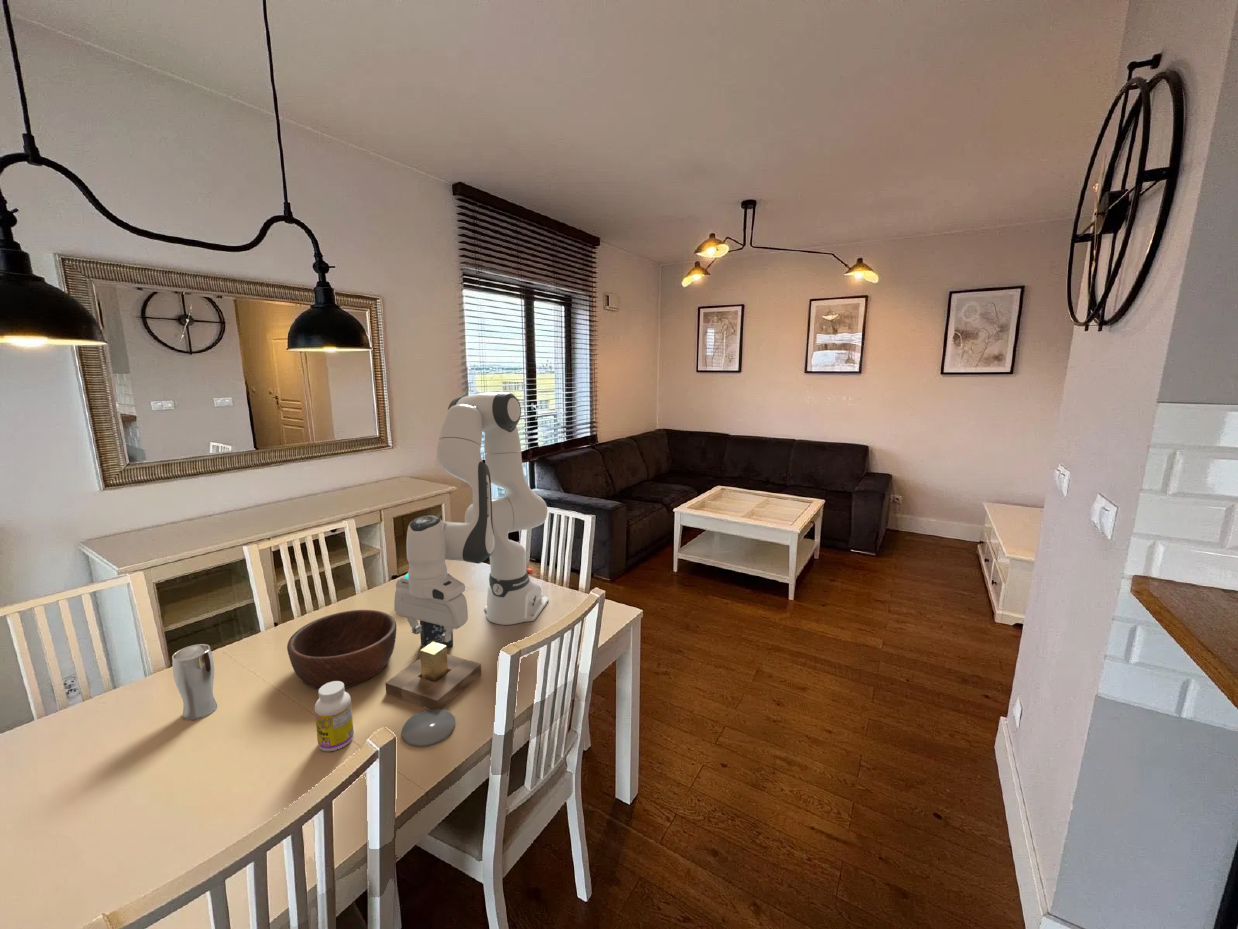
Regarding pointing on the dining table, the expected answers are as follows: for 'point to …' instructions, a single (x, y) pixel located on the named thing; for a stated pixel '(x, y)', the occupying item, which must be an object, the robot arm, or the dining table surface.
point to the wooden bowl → (342, 647)
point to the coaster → (428, 727)
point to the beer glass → (195, 680)
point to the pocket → (433, 683)
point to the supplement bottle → (333, 717)
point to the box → (433, 634)
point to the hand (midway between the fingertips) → (431, 636)
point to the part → (434, 661)
